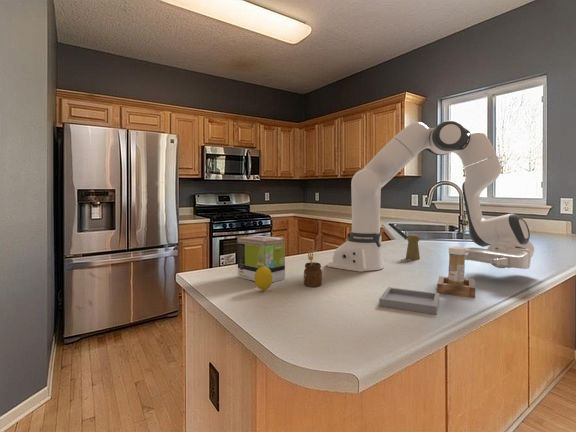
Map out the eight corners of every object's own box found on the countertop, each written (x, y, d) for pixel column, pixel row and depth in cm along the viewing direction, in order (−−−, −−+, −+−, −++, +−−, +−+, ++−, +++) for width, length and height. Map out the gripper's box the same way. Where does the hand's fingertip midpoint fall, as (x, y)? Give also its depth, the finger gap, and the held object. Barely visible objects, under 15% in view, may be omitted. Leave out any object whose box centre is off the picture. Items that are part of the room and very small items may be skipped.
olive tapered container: (421, 260, 147) (421, 235, 146) (406, 259, 148) (407, 235, 147) (418, 257, 153) (419, 233, 152) (404, 257, 154) (405, 233, 153)
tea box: (286, 279, 118) (285, 237, 117) (265, 285, 111) (264, 240, 109) (257, 272, 128) (257, 234, 127) (236, 277, 121) (236, 236, 120)
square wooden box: (437, 292, 100) (437, 283, 100) (439, 284, 109) (439, 276, 109) (475, 297, 96) (475, 287, 95) (474, 288, 104) (474, 279, 104)
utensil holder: (323, 283, 112) (323, 247, 111) (319, 288, 106) (319, 251, 105) (306, 281, 114) (306, 246, 113) (301, 286, 108) (301, 250, 107)
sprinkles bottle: (444, 289, 104) (445, 246, 103) (457, 288, 105) (458, 245, 104) (454, 293, 100) (455, 248, 99) (467, 292, 100) (469, 248, 99)
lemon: (254, 288, 106) (254, 264, 106) (272, 288, 107) (271, 263, 106) (254, 294, 101) (254, 268, 100) (272, 293, 101) (272, 267, 101)
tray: (379, 306, 89) (379, 298, 89) (388, 293, 100) (388, 287, 100) (436, 314, 83) (436, 306, 83) (439, 300, 94) (439, 293, 93)
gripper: (472, 242, 124) (449, 246, 117) (535, 249, 106) (514, 254, 99) (471, 259, 124) (449, 263, 117) (535, 269, 107) (513, 275, 100)
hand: (479, 259), depth 108 cm, fingers open, 8 cm apart
